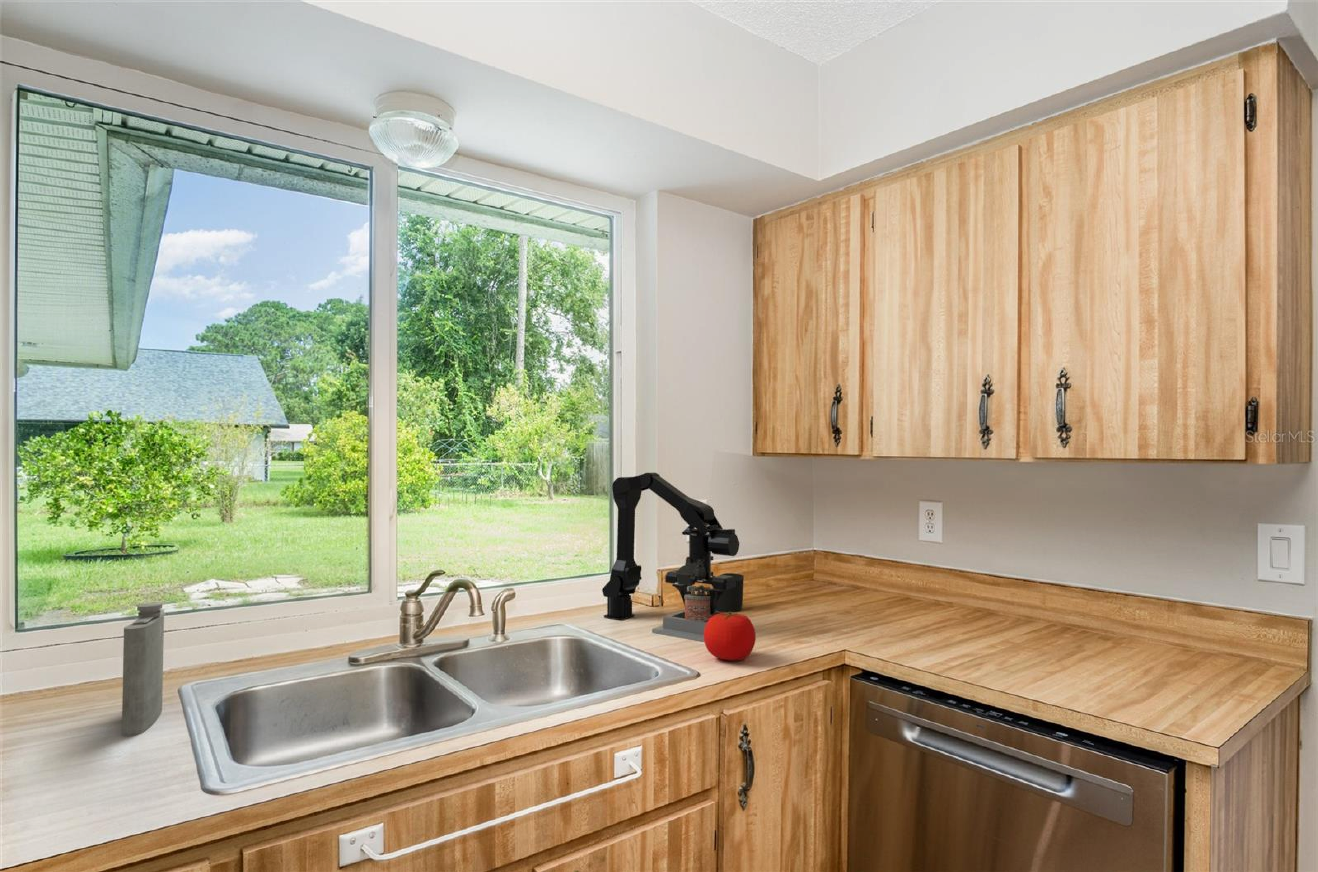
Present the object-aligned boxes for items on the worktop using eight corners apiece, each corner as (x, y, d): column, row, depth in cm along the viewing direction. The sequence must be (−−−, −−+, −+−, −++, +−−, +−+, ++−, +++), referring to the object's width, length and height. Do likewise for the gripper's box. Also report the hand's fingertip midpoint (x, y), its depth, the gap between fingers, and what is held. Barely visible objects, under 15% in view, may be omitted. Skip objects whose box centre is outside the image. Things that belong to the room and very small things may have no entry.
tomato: (761, 654, 165) (761, 609, 165) (745, 669, 154) (745, 620, 154) (715, 649, 170) (715, 604, 170) (696, 662, 159) (696, 614, 159)
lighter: (715, 622, 189) (715, 584, 189) (714, 625, 185) (714, 587, 186) (684, 622, 189) (684, 584, 190) (683, 625, 186) (684, 586, 186)
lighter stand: (652, 632, 185) (652, 617, 185) (689, 619, 200) (689, 605, 200) (712, 643, 175) (712, 626, 175) (746, 628, 190) (746, 613, 190)
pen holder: (745, 612, 209) (745, 578, 209) (713, 612, 209) (713, 578, 209) (741, 605, 218) (741, 573, 218) (711, 605, 218) (711, 572, 218)
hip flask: (143, 706, 131) (145, 596, 131) (169, 702, 132) (171, 594, 133) (119, 737, 116) (121, 614, 117) (149, 733, 118) (151, 611, 119)
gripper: (653, 553, 187) (652, 613, 186) (715, 559, 176) (714, 623, 176) (676, 548, 196) (676, 605, 195) (737, 554, 185) (736, 615, 185)
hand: (699, 612), depth 188 cm, fingers closed on lighter, 7 cm apart
